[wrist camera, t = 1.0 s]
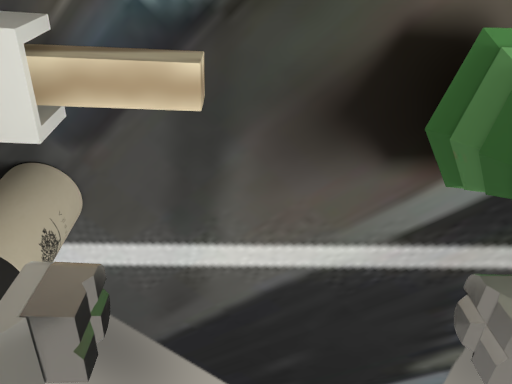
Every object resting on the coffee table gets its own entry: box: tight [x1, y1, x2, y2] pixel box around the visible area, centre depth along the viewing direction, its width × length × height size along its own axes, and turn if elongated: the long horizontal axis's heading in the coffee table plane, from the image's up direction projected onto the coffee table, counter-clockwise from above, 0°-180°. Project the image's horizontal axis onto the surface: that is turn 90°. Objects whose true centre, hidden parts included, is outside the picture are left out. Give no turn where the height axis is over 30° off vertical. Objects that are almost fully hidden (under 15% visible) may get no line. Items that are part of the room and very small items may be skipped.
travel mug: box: [0, 163, 82, 300], centre depth 37 cm, size 8×8×18 cm
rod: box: [24, 44, 205, 111], centre depth 36 cm, size 4×18×4 cm, turn 87°
